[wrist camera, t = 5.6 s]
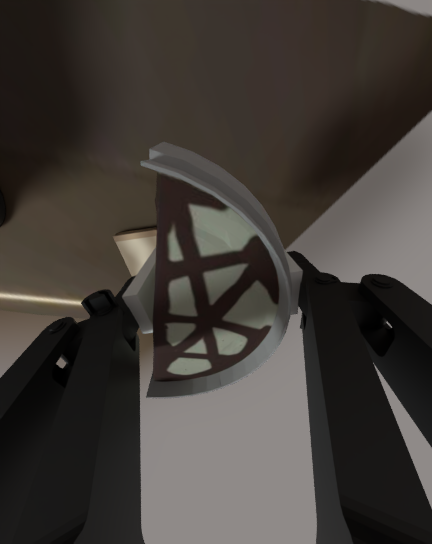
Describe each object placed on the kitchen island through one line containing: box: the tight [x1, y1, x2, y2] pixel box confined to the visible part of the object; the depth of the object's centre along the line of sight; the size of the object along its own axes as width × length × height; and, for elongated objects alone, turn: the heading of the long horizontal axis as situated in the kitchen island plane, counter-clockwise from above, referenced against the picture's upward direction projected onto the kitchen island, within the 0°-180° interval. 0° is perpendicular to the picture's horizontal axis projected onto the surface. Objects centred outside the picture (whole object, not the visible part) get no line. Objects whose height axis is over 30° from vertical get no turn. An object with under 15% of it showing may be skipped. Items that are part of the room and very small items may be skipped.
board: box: [113, 227, 157, 277], centre depth 33 cm, size 12×16×2 cm
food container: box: [141, 142, 292, 398], centre depth 11 cm, size 12×6×10 cm, turn 169°
